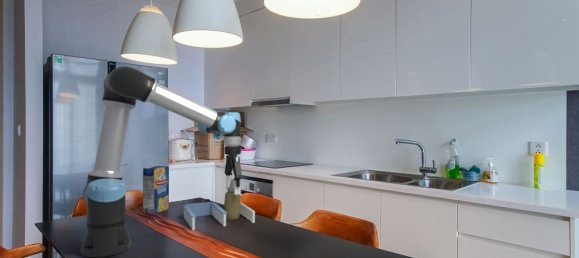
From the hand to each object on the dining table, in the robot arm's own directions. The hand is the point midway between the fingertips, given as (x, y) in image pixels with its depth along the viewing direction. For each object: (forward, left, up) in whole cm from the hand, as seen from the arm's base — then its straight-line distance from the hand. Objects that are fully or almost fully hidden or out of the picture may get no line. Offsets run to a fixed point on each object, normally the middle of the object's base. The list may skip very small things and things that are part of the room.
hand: (233, 191), depth 158 cm
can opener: (+19, +11, -13) cm, 25 cm away
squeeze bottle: (0, 0, -13) cm, 13 cm away
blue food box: (+31, +31, -13) cm, 45 cm away
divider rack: (0, +7, -12) cm, 14 cm away
